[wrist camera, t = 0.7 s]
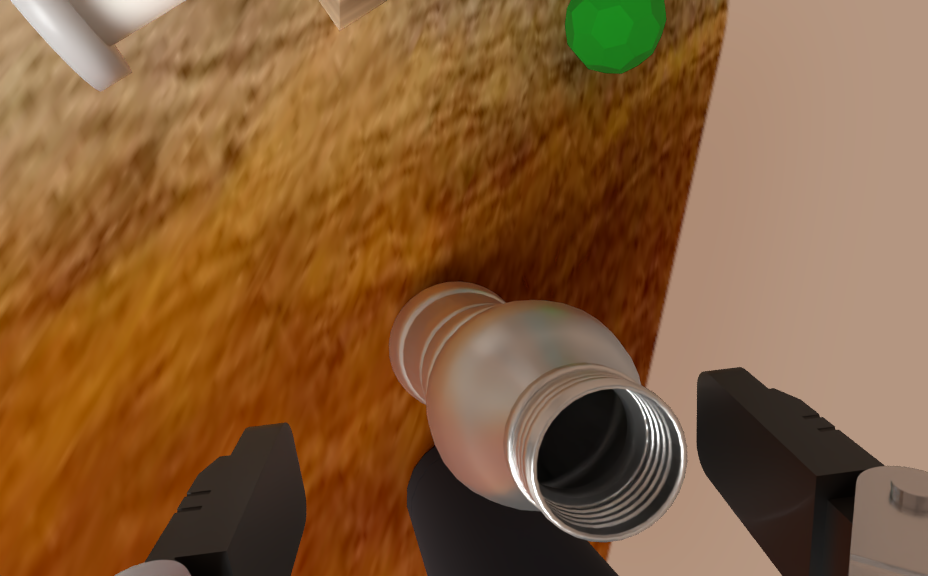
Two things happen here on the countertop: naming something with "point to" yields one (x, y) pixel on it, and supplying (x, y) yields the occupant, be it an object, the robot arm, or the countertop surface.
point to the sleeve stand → (348, 10)
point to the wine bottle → (488, 532)
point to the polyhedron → (614, 32)
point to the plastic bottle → (539, 409)
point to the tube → (92, 32)
